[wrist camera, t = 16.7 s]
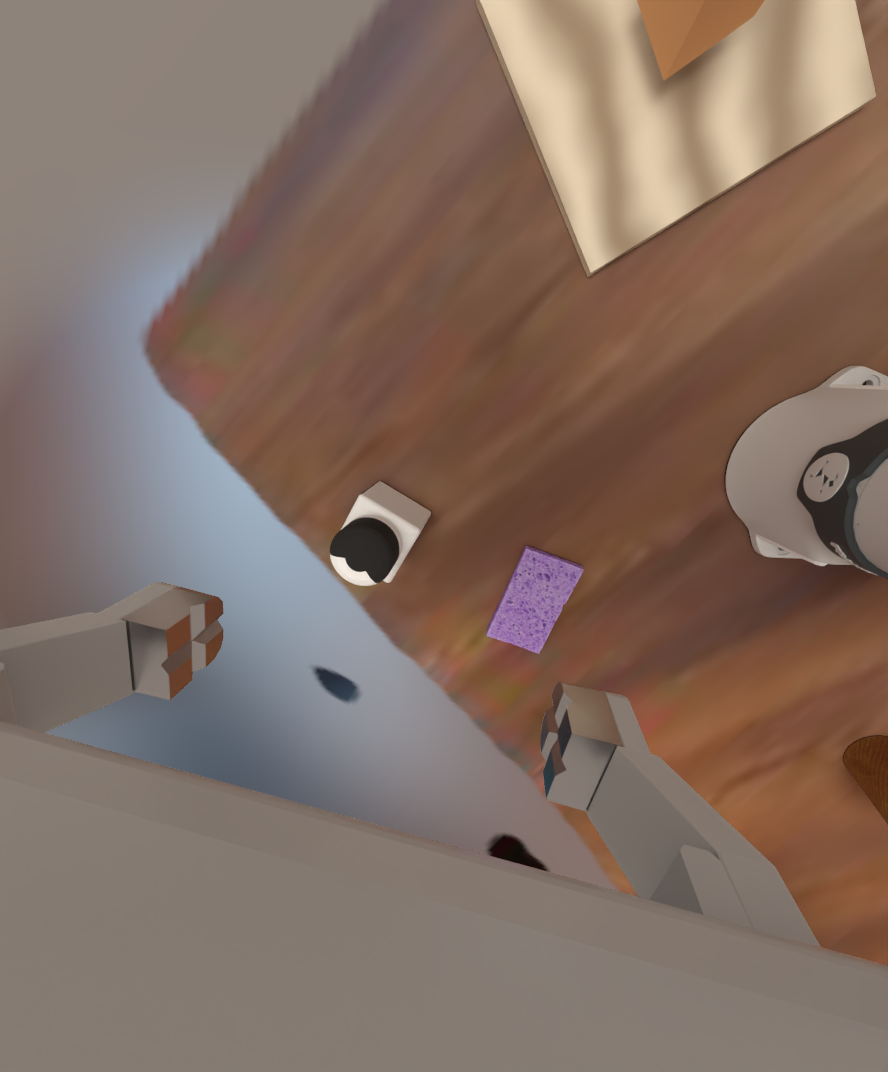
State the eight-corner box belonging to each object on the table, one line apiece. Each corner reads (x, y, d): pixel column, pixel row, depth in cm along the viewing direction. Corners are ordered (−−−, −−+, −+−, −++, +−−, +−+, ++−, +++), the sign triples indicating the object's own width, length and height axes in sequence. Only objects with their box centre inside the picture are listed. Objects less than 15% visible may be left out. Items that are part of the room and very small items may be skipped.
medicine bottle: (379, 479, 47) (340, 506, 36) (432, 511, 47) (411, 548, 36) (353, 529, 50) (308, 569, 38) (403, 559, 50) (375, 608, 39)
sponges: (581, 563, 48) (585, 570, 46) (537, 648, 52) (538, 657, 50) (525, 542, 48) (526, 547, 46) (485, 628, 52) (485, 636, 50)
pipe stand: (587, 277, 38) (590, 273, 36) (476, 5, 33) (475, -12, 31) (859, 109, 32) (876, 96, 30) (774, -255, 27) (789, -291, 25)
